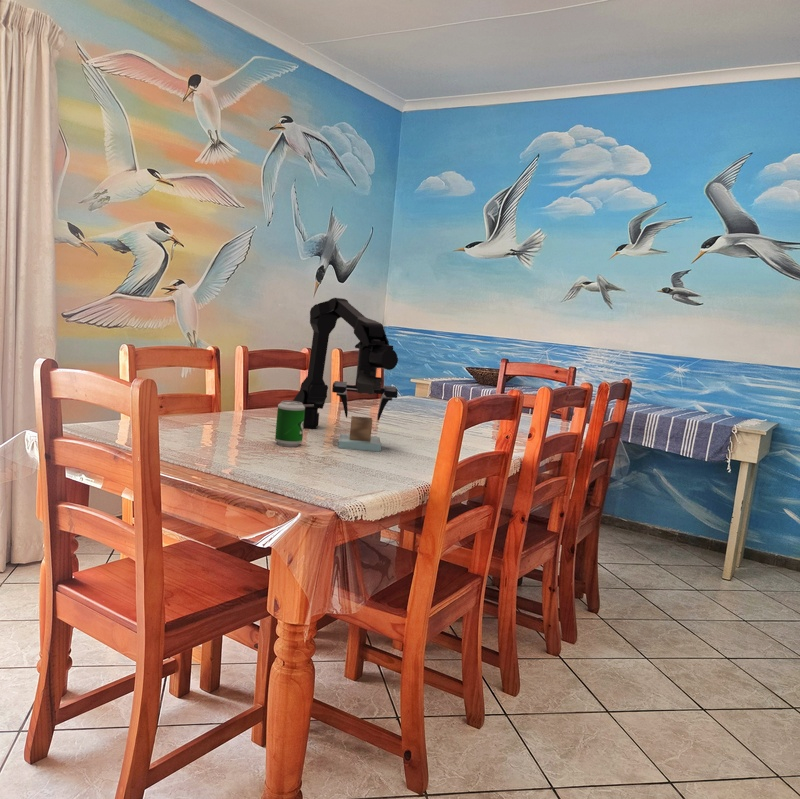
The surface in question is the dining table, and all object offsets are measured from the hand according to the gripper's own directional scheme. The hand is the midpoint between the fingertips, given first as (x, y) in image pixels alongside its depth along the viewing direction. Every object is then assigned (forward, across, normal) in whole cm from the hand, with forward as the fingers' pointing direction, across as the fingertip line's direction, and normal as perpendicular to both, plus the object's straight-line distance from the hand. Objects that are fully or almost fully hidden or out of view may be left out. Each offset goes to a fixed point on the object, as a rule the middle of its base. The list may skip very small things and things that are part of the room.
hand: (362, 418), depth 202 cm
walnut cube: (+6, 0, 0) cm, 6 cm away
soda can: (+8, -20, -7) cm, 23 cm away
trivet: (+8, 0, 0) cm, 8 cm away
